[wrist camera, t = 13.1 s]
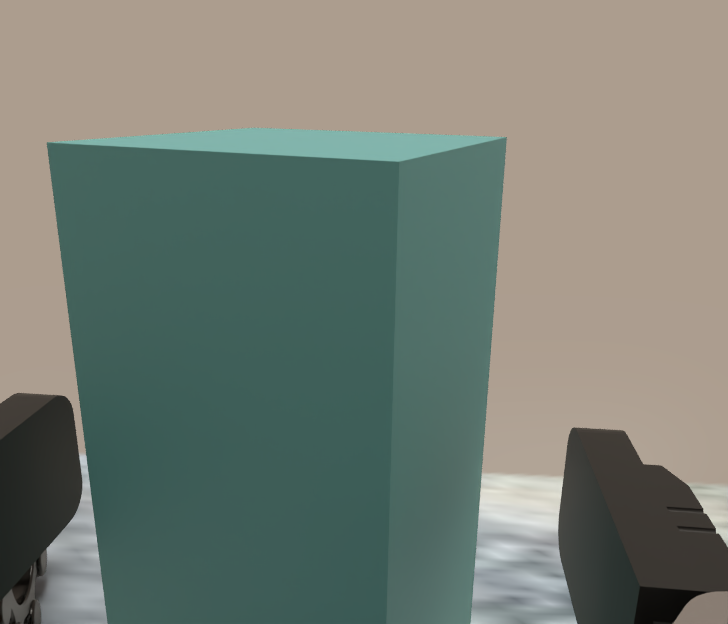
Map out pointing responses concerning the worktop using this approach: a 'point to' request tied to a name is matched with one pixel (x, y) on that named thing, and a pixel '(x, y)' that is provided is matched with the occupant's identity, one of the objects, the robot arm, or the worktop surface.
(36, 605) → the valve
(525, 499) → the worktop surface
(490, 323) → the plug
